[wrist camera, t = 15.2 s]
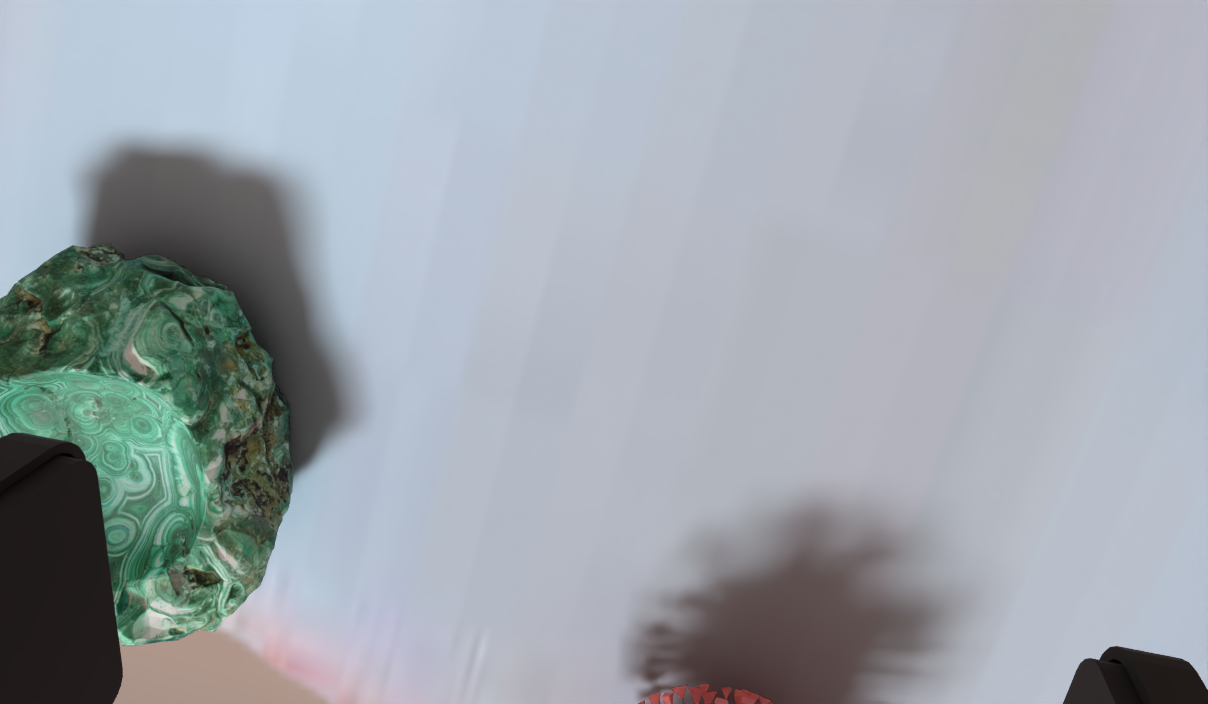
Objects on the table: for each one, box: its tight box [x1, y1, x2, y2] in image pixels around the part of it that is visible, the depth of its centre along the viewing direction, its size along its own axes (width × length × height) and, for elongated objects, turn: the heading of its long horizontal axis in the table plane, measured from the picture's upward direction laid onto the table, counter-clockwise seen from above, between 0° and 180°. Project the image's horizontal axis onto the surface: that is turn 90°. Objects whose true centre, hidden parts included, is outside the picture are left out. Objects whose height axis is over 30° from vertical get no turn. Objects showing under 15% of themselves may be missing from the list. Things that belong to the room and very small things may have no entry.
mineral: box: [0, 243, 294, 646], centre depth 45 cm, size 18×16×10 cm
